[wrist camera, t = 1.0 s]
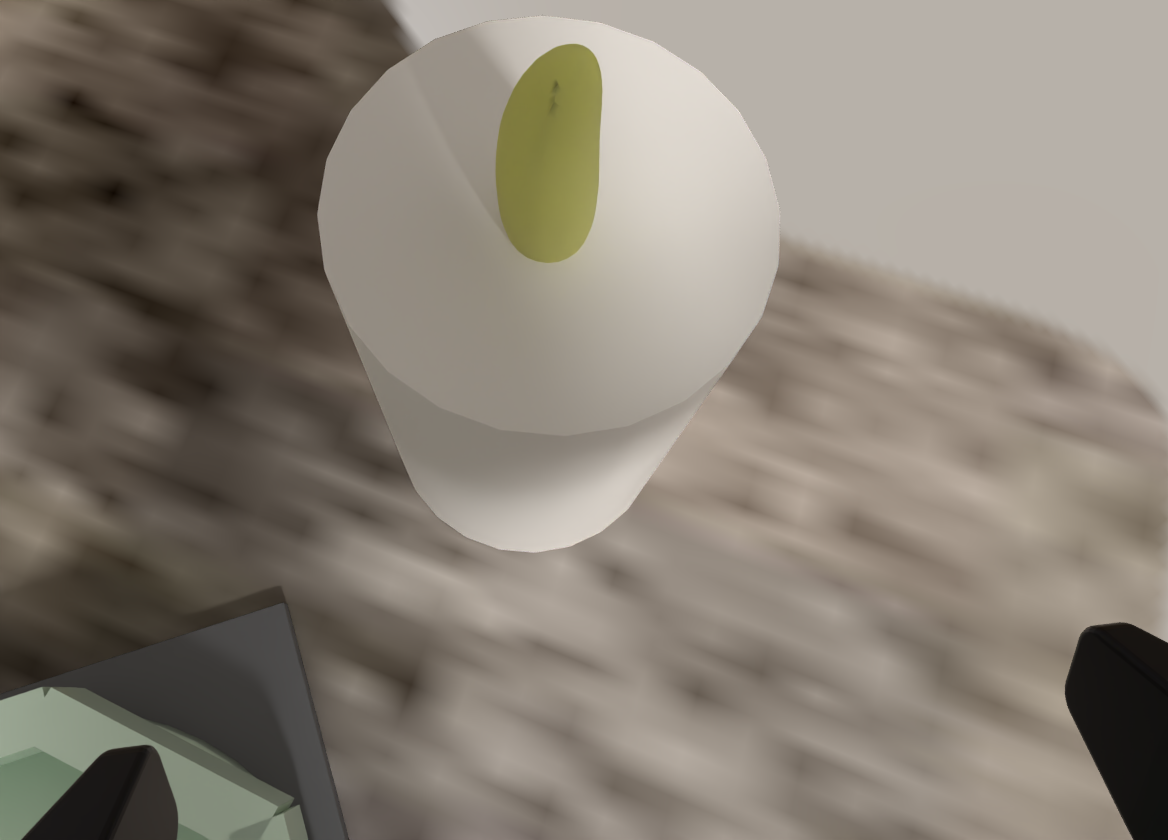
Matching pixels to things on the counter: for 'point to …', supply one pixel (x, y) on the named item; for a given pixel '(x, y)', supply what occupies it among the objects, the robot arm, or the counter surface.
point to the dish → (94, 725)
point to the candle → (544, 266)
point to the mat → (230, 704)
